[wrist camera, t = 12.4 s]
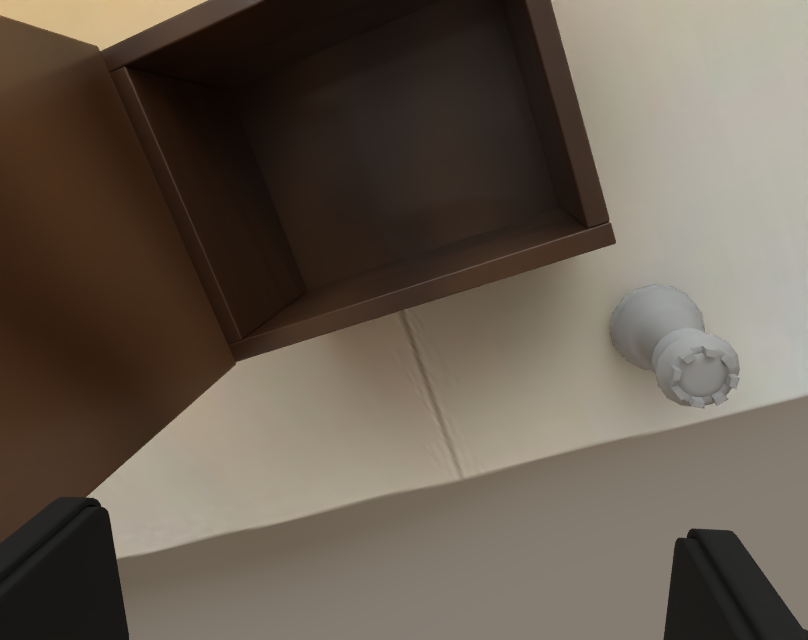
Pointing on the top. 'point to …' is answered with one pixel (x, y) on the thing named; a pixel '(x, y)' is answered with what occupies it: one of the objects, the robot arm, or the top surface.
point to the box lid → (85, 281)
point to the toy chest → (359, 154)
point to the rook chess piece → (674, 346)
